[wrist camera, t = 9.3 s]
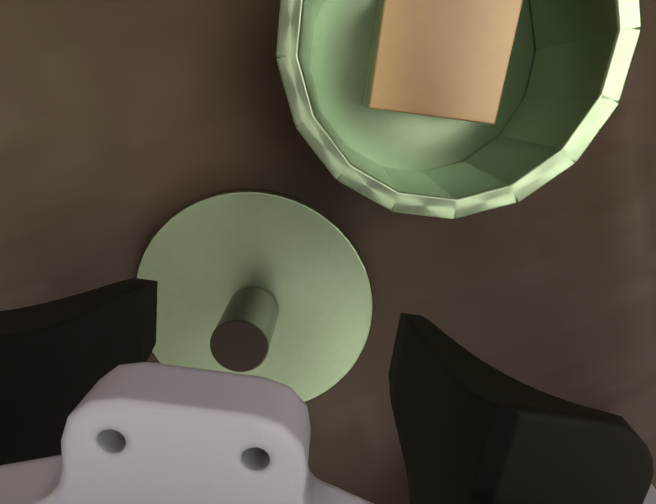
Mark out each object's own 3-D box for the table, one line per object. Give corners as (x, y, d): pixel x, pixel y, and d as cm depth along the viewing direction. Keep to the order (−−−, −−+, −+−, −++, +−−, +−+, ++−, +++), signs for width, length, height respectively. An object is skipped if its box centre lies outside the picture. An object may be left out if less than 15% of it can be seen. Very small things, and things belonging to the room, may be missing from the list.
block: (485, 7, 19) (528, -19, 15) (462, 119, 20) (495, 124, 16) (378, -8, 19) (389, -39, 15) (361, 106, 20) (368, 108, 16)
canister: (578, -67, 18) (696, -148, 12) (511, 197, 22) (579, 236, 16) (310, -104, 18) (297, -206, 12) (284, 168, 22) (263, 195, 15)
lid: (388, 203, 22) (401, 230, 17) (354, 409, 25) (357, 475, 21) (144, 172, 22) (93, 191, 17) (143, 384, 25) (101, 445, 21)
